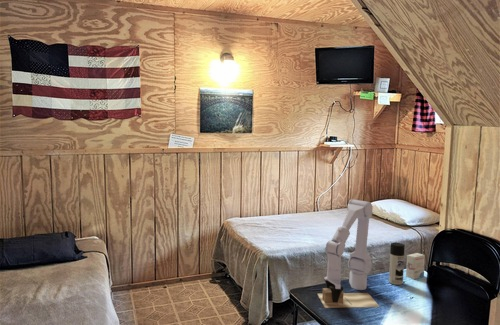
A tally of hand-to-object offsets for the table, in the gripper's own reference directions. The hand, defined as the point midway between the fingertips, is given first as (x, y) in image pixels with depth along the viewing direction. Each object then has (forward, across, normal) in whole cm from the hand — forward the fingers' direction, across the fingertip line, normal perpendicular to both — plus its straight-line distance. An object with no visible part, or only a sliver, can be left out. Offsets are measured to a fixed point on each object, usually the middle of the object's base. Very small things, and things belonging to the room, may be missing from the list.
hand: (332, 298), depth 176 cm
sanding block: (+1, 0, 0) cm, 1 cm away
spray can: (+3, -23, +39) cm, 45 cm away
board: (+3, -1, +7) cm, 8 cm away
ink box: (+3, -31, +53) cm, 61 cm away
